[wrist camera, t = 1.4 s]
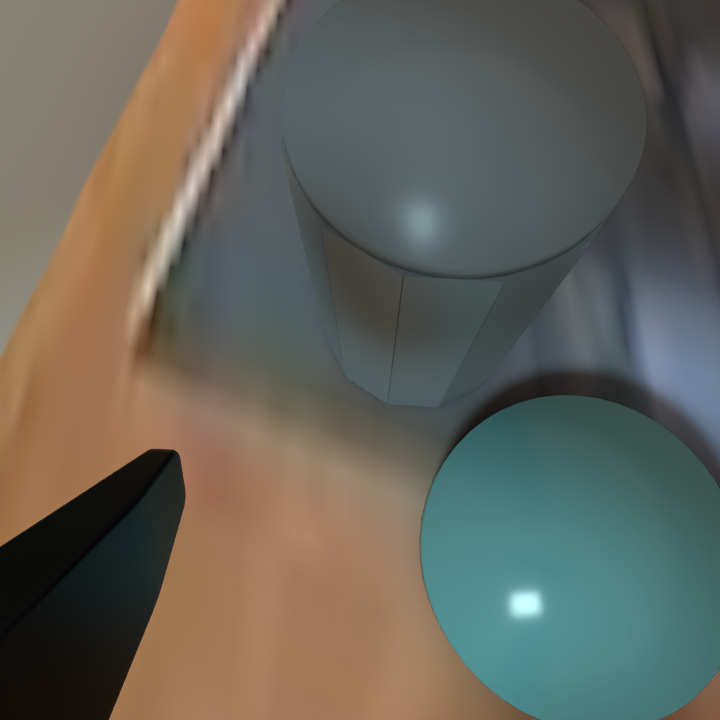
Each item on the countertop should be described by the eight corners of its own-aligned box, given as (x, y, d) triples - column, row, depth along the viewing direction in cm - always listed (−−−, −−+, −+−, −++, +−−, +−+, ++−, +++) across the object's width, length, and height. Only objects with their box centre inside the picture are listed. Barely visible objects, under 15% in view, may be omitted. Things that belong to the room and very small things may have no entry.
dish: (773, 507, 21) (796, 506, 20) (639, 794, 19) (656, 811, 18) (513, 350, 23) (521, 340, 22) (361, 592, 21) (360, 595, 20)
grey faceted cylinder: (540, 294, 24) (708, 59, 12) (446, 442, 22) (532, 340, 10) (390, 207, 25) (407, -84, 13) (291, 341, 24) (208, 147, 12)
